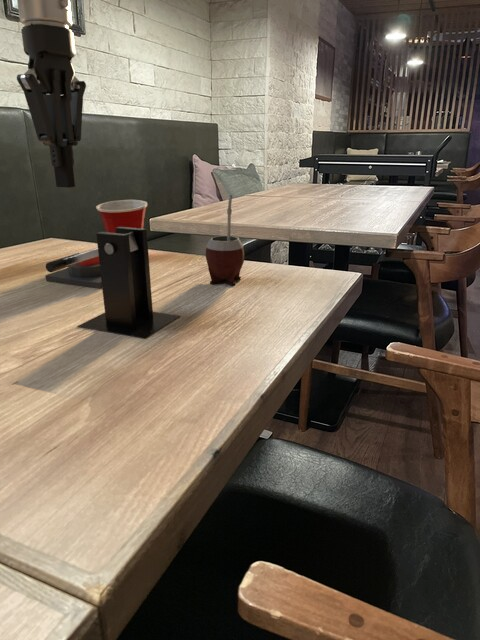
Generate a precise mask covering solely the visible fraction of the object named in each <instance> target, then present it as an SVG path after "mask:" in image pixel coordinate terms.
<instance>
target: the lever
mask: <svg viewBox="0 0 480 640" xmlns="http://www.w3.org/2000/svg"><path fill="white" fill-rule="evenodd" d="M127 234H129V243H130V252H132V251H135V250H138V249H139V248H138V245H137V242H136V239H135V237H134V234H133V232H130V233H127ZM81 253H82V254H81ZM81 253H73V254H71V255H67V256H63V257H61V258H57V259H55V260H51V261H48V262H46V264H45V270H46V271H47V272H48V273H54V272H57V271H60V270H63V269H66V268H68V267H69V266H72V265H75V264H78V263H81V262H82V261H84V260H87V259H91V258H94V257H97V256H99V254H98V248H95V249H92V250H88V251H85V252H81Z"/></svg>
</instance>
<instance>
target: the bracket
mask: <svg viewBox="0 0 480 640" xmlns="http://www.w3.org/2000/svg"><path fill="white" fill-rule="evenodd" d="M115 229H116V233H109V232H106V231H99V232H96V233H95V235H96V245H97V249H98V254H99V263H100V272H101V281H102V288H101V289H102V299H103V306H104V307H103V308H104V312H102V313H101V314H99V315H96V316H95V317H93V318H91V319H89V320H87V321H85V322H83V323H81V324H79V325H77V326H76V327H77V328H82V329H86V330H92V331H97V332H103V333H108V334H115V335H119V336H120V335H121V336H126V337H130V338H137V339H142V340H147V339H148V338H149V337H151V336H152V335H153V334H156V333H158V332H159V331H160V330H162V329H163V328H165V327H166V326H168V325H170V324H171V323H173V322H174V321H176V320H177V319H179V318H180V317H181V315H177V314H170V313H164V312H157V311H153V297H152V285H151V271H150V270H151V269H150V257H149V243H148V231H147V228H143V229H142V228H129V227H117V228H115ZM130 232H133V234H134V237H135V239H136V242H137V245H138V248H139V249H138V250H135V251H132V252H130V243H129V234H127V233H130Z"/></svg>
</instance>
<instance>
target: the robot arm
mask: <svg viewBox="0 0 480 640" xmlns="http://www.w3.org/2000/svg"><path fill="white" fill-rule="evenodd" d="M16 1H17V10H18V17H19V18H18V19H19V22H20V23H21V24H22V25H24V26H22V28H21V30H20V32H21V39H22V46H23V52H24V54H25V55H26V56H28V63H27V69H28V70H26V72H24V73H22V74H21V73H19V74H17V75H16V81H17V82H18V83H17V84H19V86H20V88H21V90H22V92H23V94H24V97H25V101H26V104H27V108H28V111H29V114H30V118H31V120H32V123H33V127H34V130H35V134H36V137H37V140H38V142H41V143H43V145H44V146H45V147H49V155H50V162H51V166H52V167H53V170H54V171H53V172H54V179H55V187H56V188H67V189H68V188H69V189H70V188H75V187H76V182H75V175H74V174H75V173H74V166H75V160H74V148H73V147H77V146H78V144H79V142H80V141H82V126H83V125H82V124H83V107H84V105H83V103H84V95H85V91H86V88H87V84H86V82H85V81H84V80H79V79H78V78H77V77H76V76H75V74H76V73H75V69H74V67H73V63H72V59H73V58H75V56H76V47H75V46H76V45H75V35H74V32H73V30H71V29H70V28H71V27H72V26H73V20H72V10H71V1H70V0H16Z"/></svg>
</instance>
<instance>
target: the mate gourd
mask: <svg viewBox="0 0 480 640" xmlns="http://www.w3.org/2000/svg"><path fill="white" fill-rule="evenodd" d="M232 201H233V195H232V194H230V195H228V203H227V209H226V212H227V213H226V215H227V229H226V233H227V234H226V235H218V236H213V237H211V238H210V239H209V240H208V242H207V243H206V248H205V260H206V264H207V268H208V273H209V276H210V281H209V284H210V285H217V284H222V283H223V284H227V285H229V286H231V287H234V286H236V282H235V281H241V280H242V279H241V278H242V277H241V276H240V273H241V270H242V268H243V265H244V263H245V256H246V254H245V248H244V244H243V241H242V240H241V239H240V237H237V236H233V235H231V225H232V224H231V221H232V211H233V210H232Z"/></svg>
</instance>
